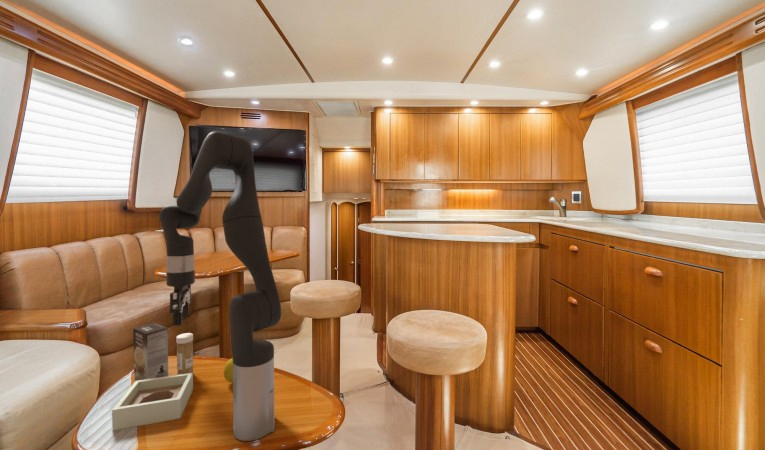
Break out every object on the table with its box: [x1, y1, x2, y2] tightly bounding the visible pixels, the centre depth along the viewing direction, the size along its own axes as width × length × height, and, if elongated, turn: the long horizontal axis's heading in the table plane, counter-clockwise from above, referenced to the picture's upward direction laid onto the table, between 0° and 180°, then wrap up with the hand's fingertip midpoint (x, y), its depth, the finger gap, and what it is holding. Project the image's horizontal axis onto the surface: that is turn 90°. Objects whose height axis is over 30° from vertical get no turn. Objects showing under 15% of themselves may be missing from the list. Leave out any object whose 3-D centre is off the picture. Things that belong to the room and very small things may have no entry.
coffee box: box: [132, 321, 169, 381], centre depth 100 cm, size 9×6×16 cm
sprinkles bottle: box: [175, 332, 195, 376], centre depth 100 cm, size 5×5×13 cm
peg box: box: [111, 372, 194, 431], centre depth 84 cm, size 14×14×5 cm
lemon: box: [223, 357, 233, 384], centre depth 97 cm, size 6×6×8 cm
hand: (181, 320), depth 99 cm, fingers open, 8 cm apart
